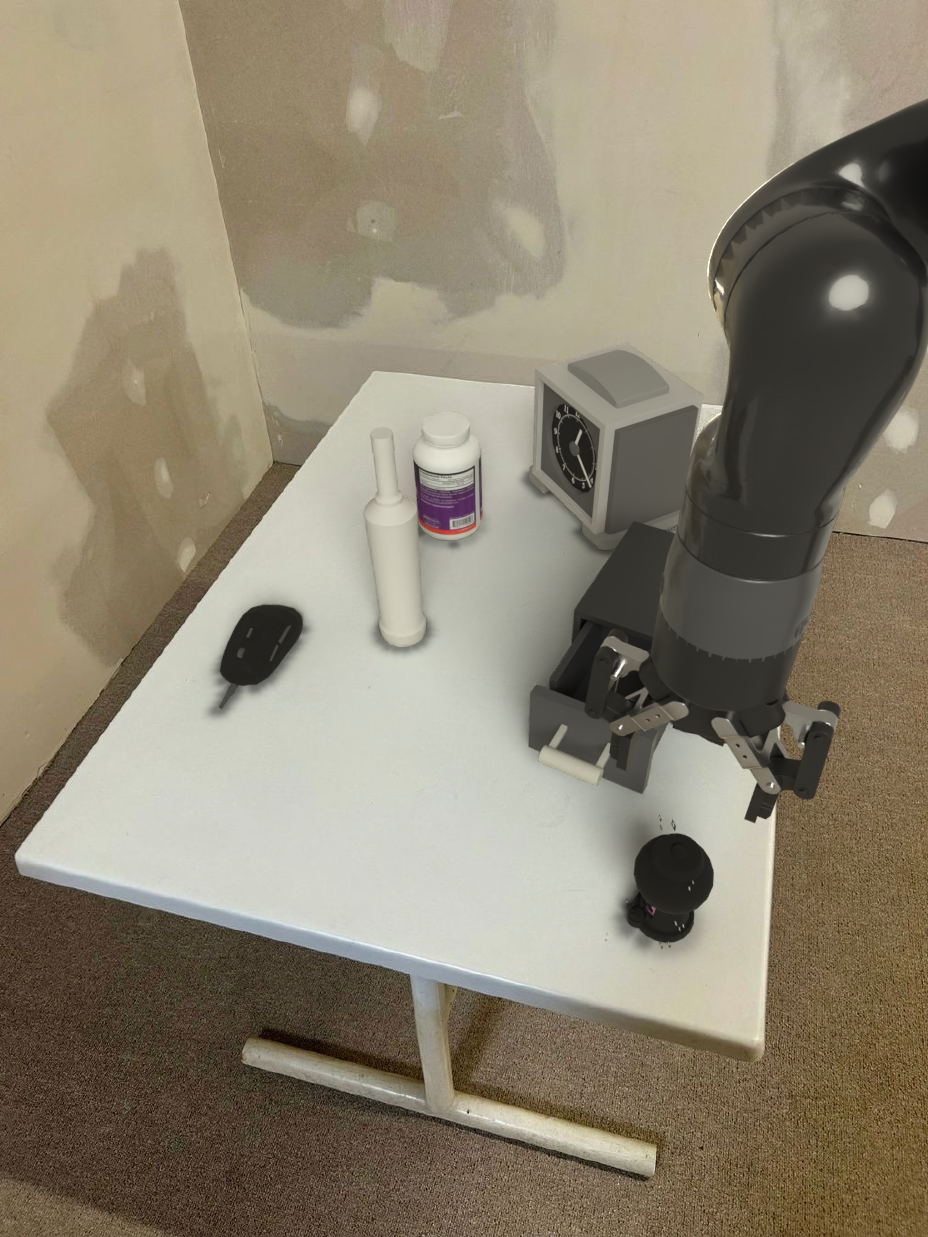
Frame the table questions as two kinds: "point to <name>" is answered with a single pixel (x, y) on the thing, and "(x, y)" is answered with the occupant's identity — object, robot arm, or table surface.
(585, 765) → the open grey drawer
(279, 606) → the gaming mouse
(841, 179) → the robot arm
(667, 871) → the gumball machine
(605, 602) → the grey drawer cabinet
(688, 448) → the alarm clock
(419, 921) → the table surface
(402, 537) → the bottle
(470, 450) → the pill bottle
